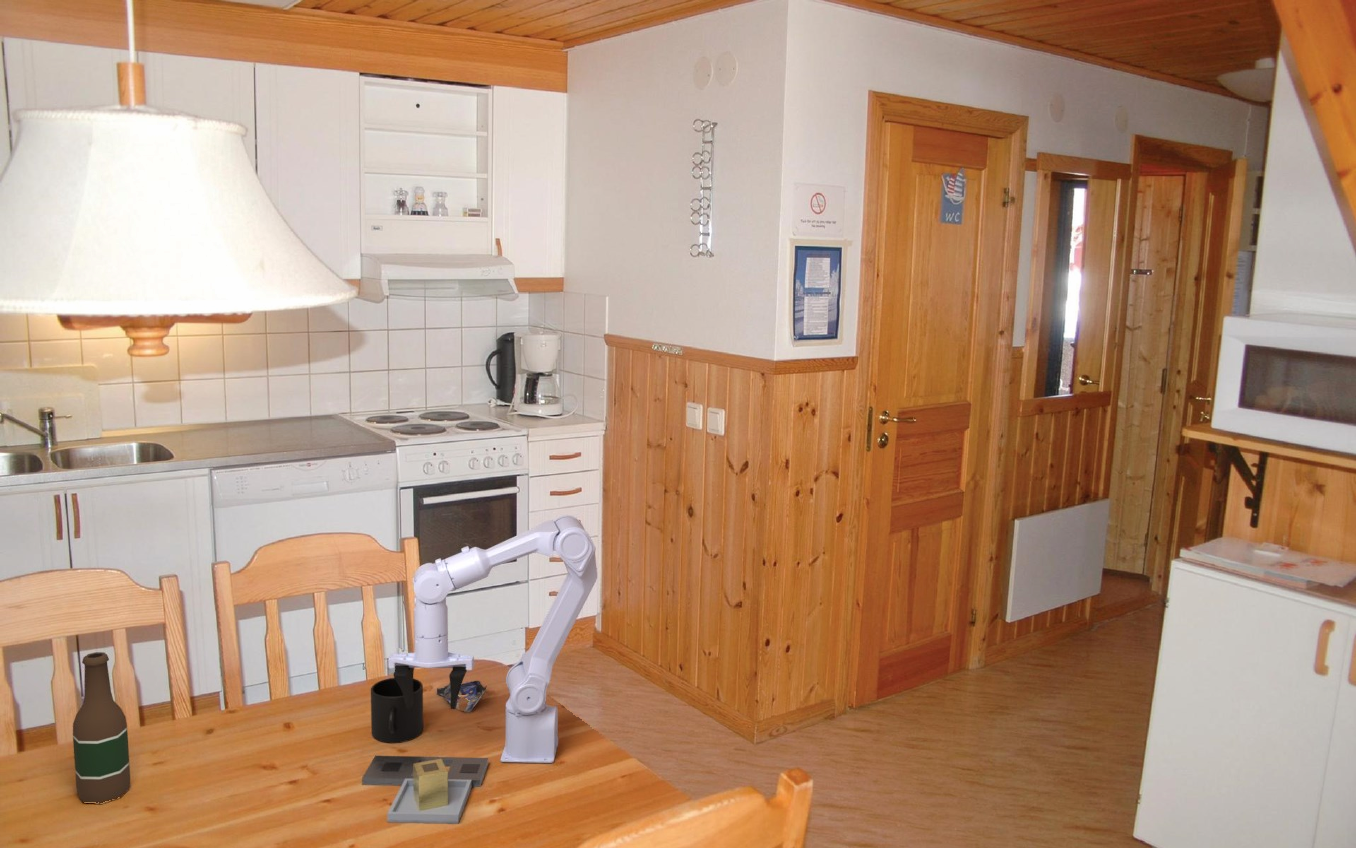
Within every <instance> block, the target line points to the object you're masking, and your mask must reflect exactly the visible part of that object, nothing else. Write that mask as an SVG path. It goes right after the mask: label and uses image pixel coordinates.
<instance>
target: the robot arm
mask: <svg viewBox="0 0 1356 848" xmlns="http://www.w3.org/2000/svg"><path fill="white" fill-rule="evenodd" d="M460 550H461V551H460V552H459V553H456V554H454V555H451V556H449V557H447V558H445V559H442V558H441V557H440V558H438V559H435V561H434V562H433V563H432V562H426V563H424V564H422V565H420V566H419V567H418V568H417V569H416V570H415V572H414V575H413V577H412V583H413V584H412V585H413V593H414V595H415V596H414V602H413V603H414V608H413V629H414V630H413V634H414V635H413V637H414V640H413V641H414V652H407V653H406V652H404V653H391V654H390V656H388V669H389V670H390V669H393V670H394V671H393V678H395V680H396V681H397V683H398V684H399V686H400V688H401V690H402V693H403V695H404V698H405V702H406V706H407V708H410V709H411V707H412V705H413V703H414V693H413V679H414V672H415V671H414V670H415V668H416V669H417V668H421V669H425V668H426V669H427V668H428V669H451V671H450V673H449V676H448V677H449V683H450V687H451V701H450V703H449V704H450V710H455V709H457V708H456V706H457V701H458V700H459V699H458V694H459V690H460V687H461V684H463V681H464V679H465V676H466V673H467V671H472V670H473V669H474V667H475V656H474V655H467V654H461V653H455V652H449V627H448V626H449V622H448V620H449V619H448V616H449V615H448V613H449V612H448V608H449V607H448V605H447V596H448V594H449V593H450V592H454V591H457V590H459V589H462V588H464V587H467V586H470V585H472V584H474V583H476V582H479V581H482V580H484V579H486V578H488V577H489V574H490V573H491V571H492V569H493V568H495V567H498V566H500V565H504V564H506V563H509V562H512V561H514V560H517V559H520V558H524V557H526V556H529V555H531V554H534V553H535V554H536V553H537V554H540V555H542V556H543V555H545V556H547V557H551V558H553V557H554V551H555V552H556V553H557V555H558V557H559V558H560V559H561V560H562V562H563V563H564V566H565V569H566V571H567V575H566V577H565V579H564V581H563V582H562V585H561V586H560V588H559V590H558V592H557V594H556V596H555V598H554V600H553V602H552V604H551V605H550V608H549V609H548V611H547V614H546V615H545V618H544V620H543V622H542V624H541V625H540V627H539V629H538V632H537V634H536V635H535V637H534V639H533V642H532V644H531V645H530V647H529V649H528V650H526V651H525V652H524V653H523V654H522V655H521V657H520V659H519V661H517V662H516V663H515V664H513V665H512V666H511V667H510V669H509V670H508V671H507V674H506V675H505V683H506V684H505V685H506V686H507V688H508V692H509V698H508V700H507V701H506V702H505V744H504V748H503V750H502V754H501V756H500V762H501V763H539V764H540V763H541V764H551V763H554V762H555V758H556V754H557V753H556V752H557V751H558V750H557V748H558V746H559V736H558V735H559V734H558V732H559V731H558V729H559V728H558V727H559V724H558V723H559V711H558V706H555V705H549V704H547V703H546V700H547V689H548V687H549V685H550V682H551V678H552V673H553V667H554V664H555V662H556V660H557V658H558V657H559V654H560V652H561V650H562V648H563V646H564V645H565V642H566V641H567V639H568V636H569V635H570V633H571V631H572V628H573V627H574V626H575V623H576V622H577V619H578V617H579V615H580V613H581V611H582V610H583V607H584V605H585V603H586V601H587V600H588V597H589V596H590V594H591V592H592V590H593V588H594V585H595V583H596V582H597V579H598V568H597V558H596V546H595V544H594V542H593V539H592V538H591V536H590V534H589V533H588V532H587V531H586V528H584V526H583V524H582V522H581V521H580V519H578V518H577V517H575V516H573V515H568V514H567V515H561V516H559V517H556V519H549V520H546V521H544V522H541V524H538V525H536V526H534V527H532V528H531V529H528V530H526V531H524V532H523V531H522V533H519V534H517V535H516V536H513V537H511V538H508V539H506V540H504V541H501V542H499V543H497V544H496V545H493V546H491V547H489V548H487V549H483V548H480V547H478V546H474V547H471V548H470V547H469V546H468V545H467V546H464V547H462V548H461V549H460Z"/></svg>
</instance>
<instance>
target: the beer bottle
mask: <svg viewBox="0 0 1356 848" xmlns="http://www.w3.org/2000/svg"><path fill="white" fill-rule="evenodd" d="M109 661H110V658H109V655H108V654H106V652H104V651H103V652H101V651H99V652H98V651H97V652H90V653H88V654H87V655H85V656H83V657H82V664H83V665H84V682H83V687H84V694H83V695H84V697H83V703H82V705H81V707H80V708H79V710H78V711H77V713H76V714H75V717H74V721H73V723H72V743H73V757H74V759H73V760H74V771H75V773H74V774H75V783H76V784H75V785H76V793H77V797H78V796H79V797H80V798H79V797H78V798H79V799H80V800H81V802H82V801H83V802H96V803H98V802H99V803H103V802H105V801H109V800H112V799H116V798H118V797H121V796H122V795H123V794H124V793H125V792H126V791H127V790H128V789H129V788H130V789H131V770H130V769H131V767H130V754H129V753H130V752H129V736H128V735H129V733H128V732H129V731H128V723H127V719H126V718H127V717H126V715H125V713H124V711H123V709H122V708H121V707H120V706H119V704H118V703H117V702H116V701H115V700H114V697H113V693H112V690H111V689H112V688H111V681H110V674H109V673H110V672H109V666H108V662H109ZM130 789H129V790H130ZM129 790H128V791H129ZM128 791H127V792H128ZM127 792H126V793H127ZM126 793H125V794H126ZM125 794H124V795H125ZM124 795H123V796H124ZM123 796H122V797H123ZM122 797H121V798H122ZM83 802H82V803H83Z"/></svg>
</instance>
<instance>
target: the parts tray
mask: <svg viewBox="0 0 1356 848" xmlns="http://www.w3.org/2000/svg"><path fill="white" fill-rule="evenodd" d="M472 788H473V787H472V780H459V779H448V806H443V807H438V808H433V809H428V810H423V811H419V809H418V807H417V804H416V802H415V800H414V782H413V779H408V778H405V780H404V782H403V784H402V785H400V788H399V789H398V792H397V793H396V796H395V798H394V799H393V802H392V803H391V805H390V807H389V809H388V811H387V816H386V817H387V818H386V819H387V820H386V821H387V823H401V824H402V823H404V824H406V823H407V824H408V823H409V824H449V825H450V824H452V825H453V824H457V825H458V824H459V822H460V820H461V818H462V815H463V812H464V809H465V807H466V804H467V801H468V799H469V796H470V793H471V790H472Z"/></svg>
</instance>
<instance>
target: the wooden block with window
mask: <svg viewBox="0 0 1356 848" xmlns="http://www.w3.org/2000/svg"><path fill="white" fill-rule="evenodd" d="M446 767H447V766H445V765H444V763H443V761H442V759H437V760H431V761H426V762H420V763H414V764H413V782H414V800H415V802H416V804H417V807H418V809H419V811H423V810H428V809H433V808H438V807H443V806H448V770H447V768H446Z"/></svg>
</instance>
